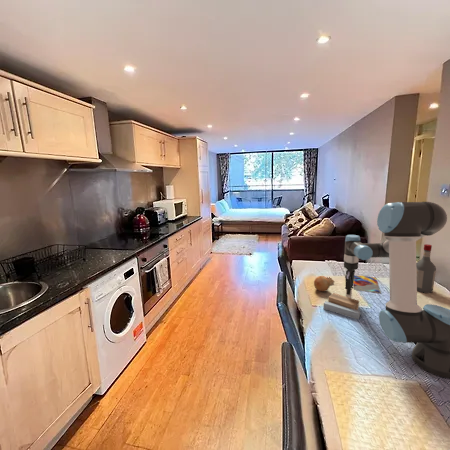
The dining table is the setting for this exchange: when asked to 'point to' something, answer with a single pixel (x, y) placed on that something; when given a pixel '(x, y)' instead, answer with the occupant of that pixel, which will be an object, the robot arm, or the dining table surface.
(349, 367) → the dining table surface
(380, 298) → the dining table surface
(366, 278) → the relief map
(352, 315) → the grey rectangular bar
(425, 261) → the liquor
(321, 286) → the onion
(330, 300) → the block
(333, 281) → the wooden fragment
